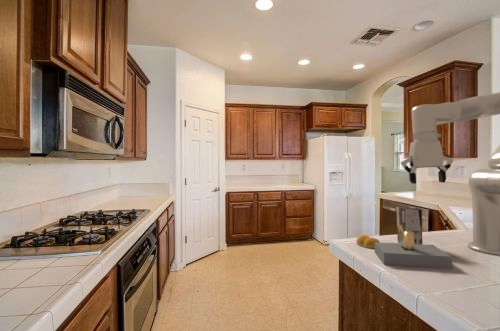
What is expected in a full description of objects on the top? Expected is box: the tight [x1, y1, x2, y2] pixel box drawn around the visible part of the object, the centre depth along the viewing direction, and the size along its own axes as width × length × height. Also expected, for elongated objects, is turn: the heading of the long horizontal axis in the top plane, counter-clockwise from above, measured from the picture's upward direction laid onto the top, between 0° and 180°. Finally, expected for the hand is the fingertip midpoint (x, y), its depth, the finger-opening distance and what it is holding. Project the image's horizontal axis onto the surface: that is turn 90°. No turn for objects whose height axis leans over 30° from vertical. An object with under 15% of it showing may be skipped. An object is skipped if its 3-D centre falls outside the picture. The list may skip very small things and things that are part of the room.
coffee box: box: [396, 205, 423, 245], centre depth 104 cm, size 9×6×16 cm
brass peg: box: [404, 231, 414, 251], centre depth 88 cm, size 3×3×10 cm
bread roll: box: [355, 234, 380, 249], centre depth 106 cm, size 8×9×4 cm
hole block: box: [374, 241, 453, 270], centre depth 88 cm, size 20×12×4 cm, turn 77°
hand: (427, 182), depth 94 cm, fingers open, 9 cm apart
